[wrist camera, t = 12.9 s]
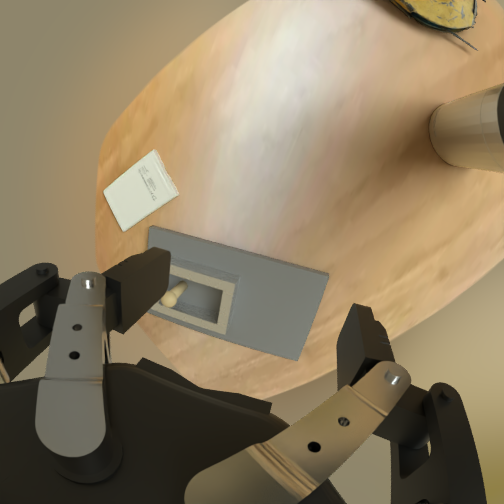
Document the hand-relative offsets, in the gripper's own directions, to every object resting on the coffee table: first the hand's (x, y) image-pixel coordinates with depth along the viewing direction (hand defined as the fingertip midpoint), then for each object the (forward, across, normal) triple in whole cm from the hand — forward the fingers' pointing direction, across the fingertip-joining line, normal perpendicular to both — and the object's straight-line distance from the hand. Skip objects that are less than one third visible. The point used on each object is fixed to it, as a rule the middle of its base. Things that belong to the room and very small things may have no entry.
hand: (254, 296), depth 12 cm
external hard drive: (+29, +24, +4) cm, 38 cm away
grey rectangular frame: (+27, +12, +17) cm, 34 cm away
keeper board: (+28, +7, +17) cm, 33 cm away
